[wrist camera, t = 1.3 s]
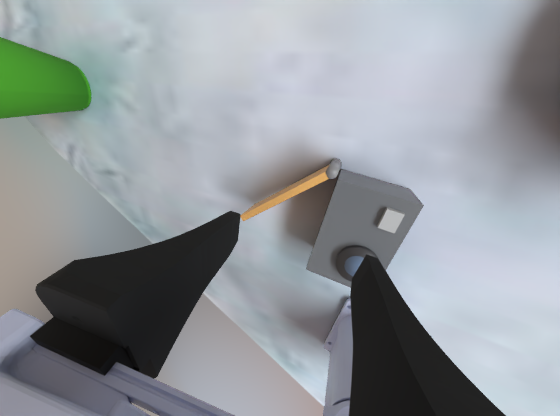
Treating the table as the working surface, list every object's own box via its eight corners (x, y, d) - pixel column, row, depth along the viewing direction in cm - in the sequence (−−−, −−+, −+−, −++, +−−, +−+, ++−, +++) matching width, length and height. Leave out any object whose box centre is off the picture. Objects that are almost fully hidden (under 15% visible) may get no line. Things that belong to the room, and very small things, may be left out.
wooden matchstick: (258, 210, 23) (244, 222, 20) (253, 203, 23) (239, 214, 20) (342, 167, 18) (340, 175, 15) (337, 158, 18) (334, 164, 15)
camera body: (368, 267, 22) (371, 300, 18) (304, 243, 23) (293, 268, 19) (414, 180, 17) (432, 197, 13) (332, 157, 19) (326, 166, 15)
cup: (43, 29, 24) (-166, -33, 14) (103, 59, 23) (-80, 13, 13) (54, 109, 28) (-102, 102, 19) (105, 137, 27) (-33, 146, 17)
